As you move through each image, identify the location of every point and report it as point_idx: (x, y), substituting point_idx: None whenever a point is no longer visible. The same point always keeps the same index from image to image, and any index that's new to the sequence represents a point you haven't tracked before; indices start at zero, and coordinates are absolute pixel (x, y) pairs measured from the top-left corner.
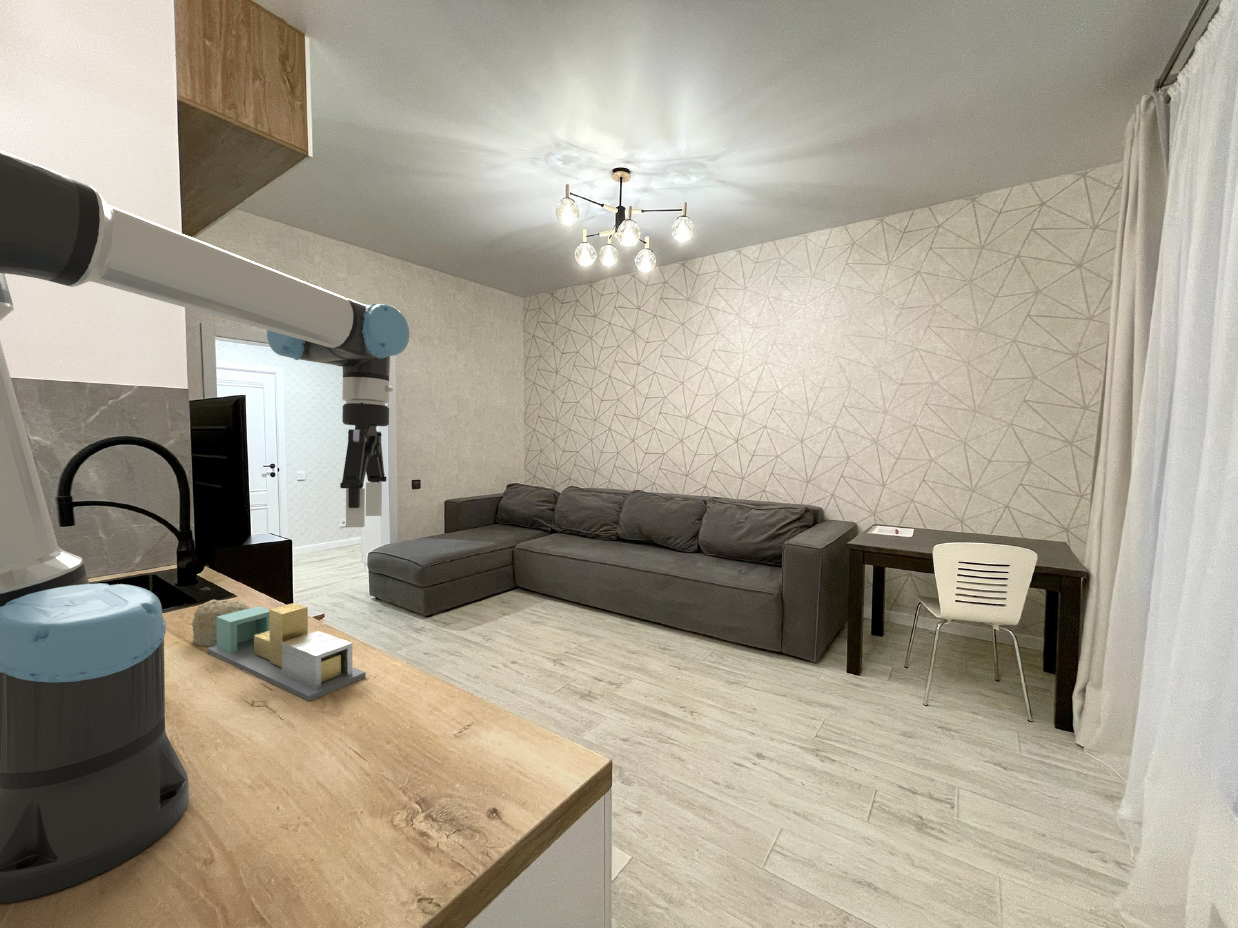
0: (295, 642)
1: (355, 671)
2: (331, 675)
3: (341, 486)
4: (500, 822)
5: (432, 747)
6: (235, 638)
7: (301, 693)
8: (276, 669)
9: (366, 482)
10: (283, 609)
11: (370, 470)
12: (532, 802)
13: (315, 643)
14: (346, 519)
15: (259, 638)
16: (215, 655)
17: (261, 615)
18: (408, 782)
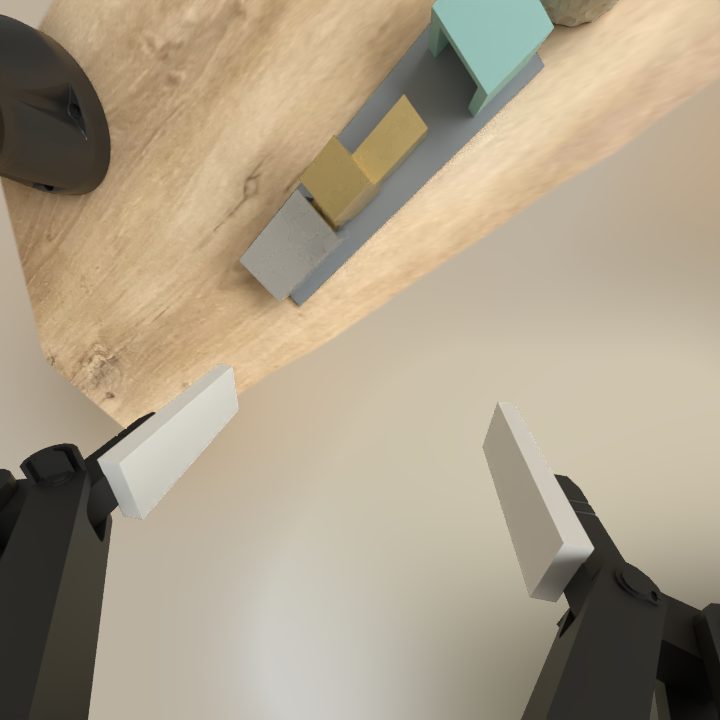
0: (292, 214)
1: (303, 293)
2: None
3: (42, 454)
4: (104, 397)
5: (170, 367)
6: (435, 40)
7: (256, 238)
8: None
9: (560, 545)
10: (327, 171)
11: (553, 676)
12: (120, 415)
13: (284, 248)
14: (201, 378)
15: (386, 115)
16: None
17: (472, 73)
18: (131, 351)
